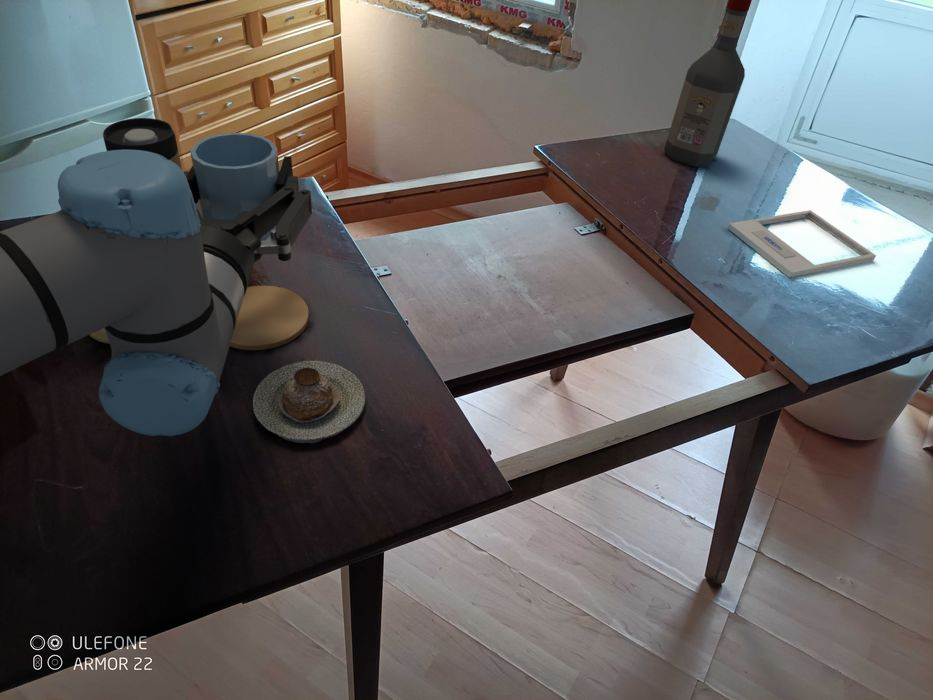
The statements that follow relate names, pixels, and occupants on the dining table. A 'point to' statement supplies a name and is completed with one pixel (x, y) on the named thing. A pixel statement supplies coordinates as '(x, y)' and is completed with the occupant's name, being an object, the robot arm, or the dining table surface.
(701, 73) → the liquor
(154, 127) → the travel mug
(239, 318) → the coaster
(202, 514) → the dining table surface
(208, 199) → the mug
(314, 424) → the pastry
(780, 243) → the photo frame
